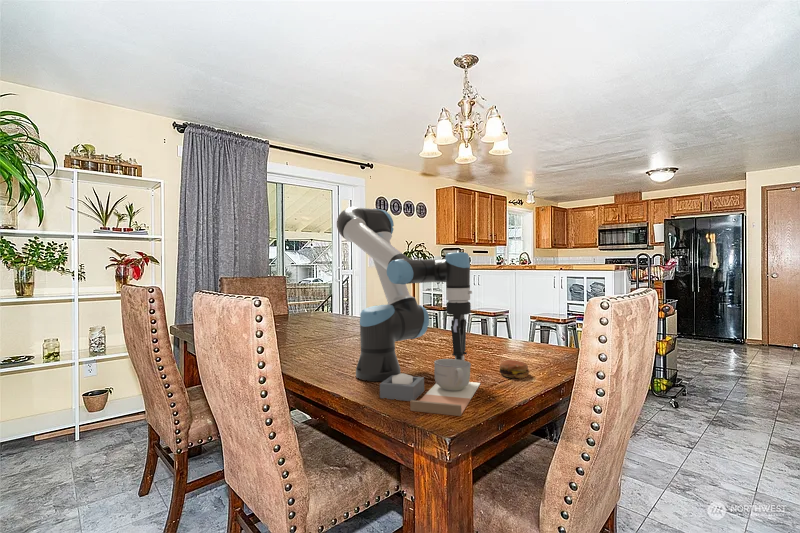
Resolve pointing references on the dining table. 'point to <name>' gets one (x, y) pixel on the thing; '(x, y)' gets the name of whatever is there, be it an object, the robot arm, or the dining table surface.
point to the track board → (445, 400)
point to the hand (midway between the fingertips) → (460, 375)
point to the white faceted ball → (402, 379)
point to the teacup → (452, 373)
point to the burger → (514, 369)
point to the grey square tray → (402, 389)
